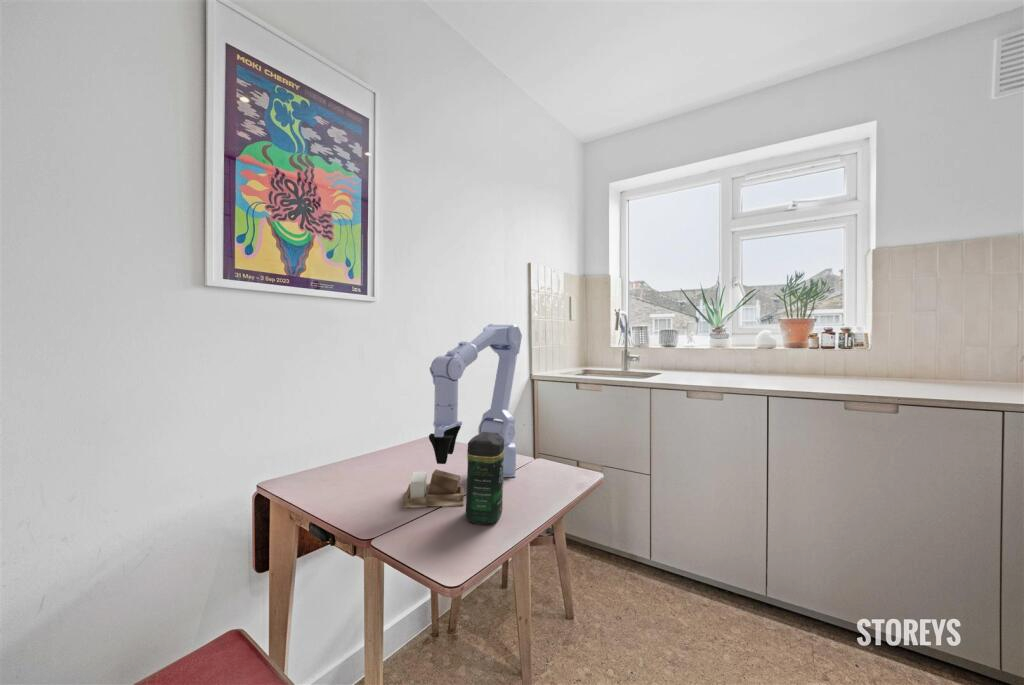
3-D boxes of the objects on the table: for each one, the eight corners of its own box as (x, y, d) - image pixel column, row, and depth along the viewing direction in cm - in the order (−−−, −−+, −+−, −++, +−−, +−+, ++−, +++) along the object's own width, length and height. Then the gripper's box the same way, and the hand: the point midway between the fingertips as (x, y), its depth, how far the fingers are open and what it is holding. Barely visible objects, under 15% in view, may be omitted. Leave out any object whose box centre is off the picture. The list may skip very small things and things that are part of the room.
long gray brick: (426, 490, 102) (426, 471, 102) (423, 502, 95) (424, 481, 95) (413, 491, 102) (414, 471, 102) (410, 502, 95) (410, 482, 95)
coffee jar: (497, 528, 85) (499, 441, 84) (461, 524, 86) (463, 439, 85) (505, 508, 94) (507, 430, 94) (473, 505, 95) (475, 428, 95)
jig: (463, 489, 105) (463, 482, 105) (463, 505, 95) (463, 498, 95) (409, 490, 103) (409, 483, 103) (403, 507, 93) (403, 500, 93)
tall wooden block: (456, 494, 101) (460, 475, 100) (453, 499, 97) (458, 480, 97) (431, 487, 101) (435, 469, 101) (427, 492, 98) (432, 473, 98)
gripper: (456, 410, 91) (455, 469, 91) (467, 399, 106) (466, 450, 106) (425, 409, 92) (424, 467, 92) (441, 398, 106) (440, 449, 106)
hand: (445, 458), depth 99 cm, fingers open, 7 cm apart
